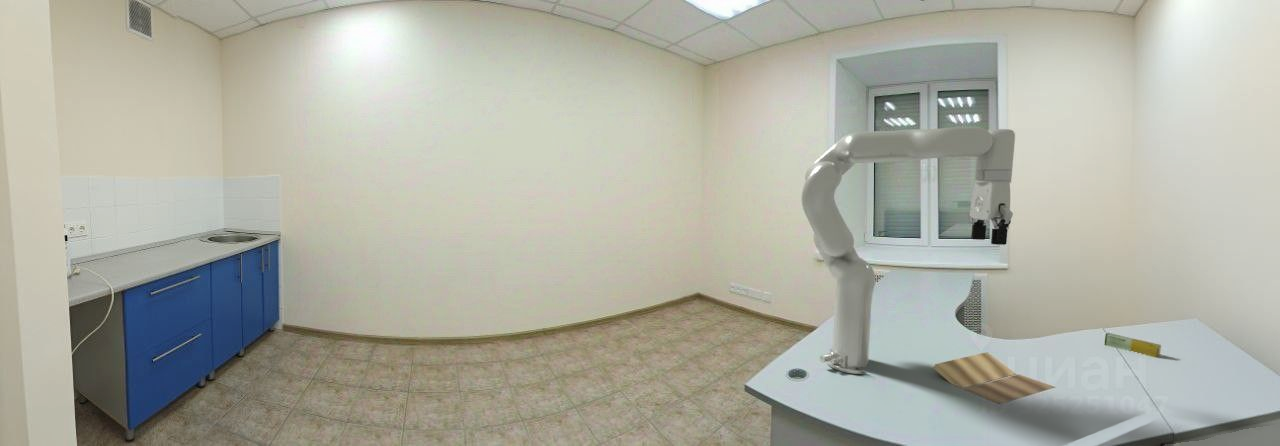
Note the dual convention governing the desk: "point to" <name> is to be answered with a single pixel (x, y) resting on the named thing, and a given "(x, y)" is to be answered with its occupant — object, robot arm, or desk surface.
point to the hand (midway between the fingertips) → (987, 241)
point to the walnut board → (1009, 388)
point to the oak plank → (973, 370)
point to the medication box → (1133, 345)
